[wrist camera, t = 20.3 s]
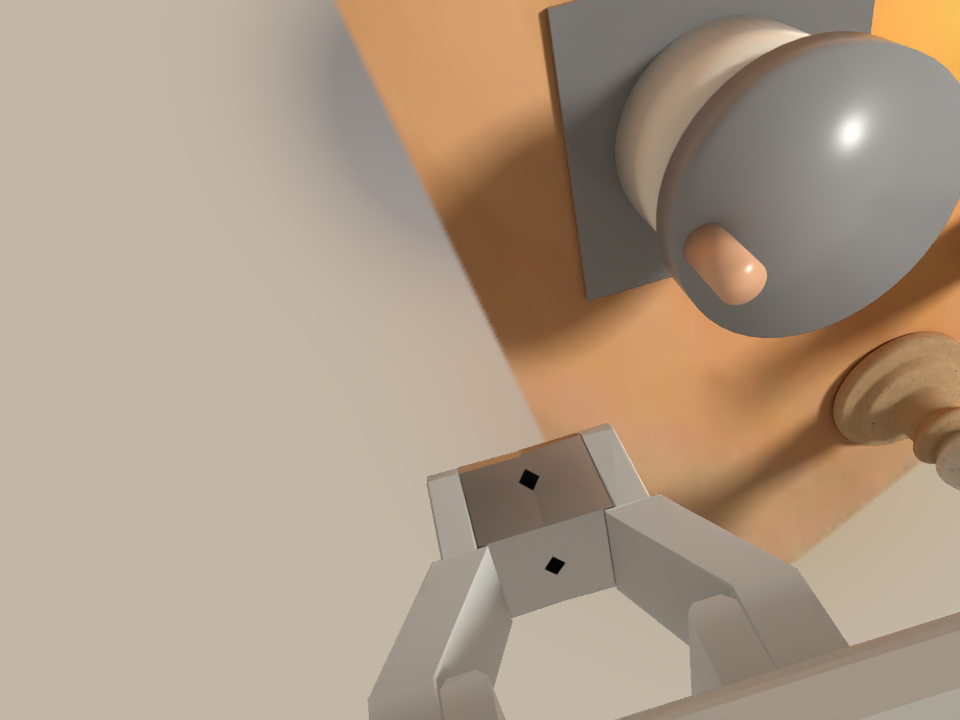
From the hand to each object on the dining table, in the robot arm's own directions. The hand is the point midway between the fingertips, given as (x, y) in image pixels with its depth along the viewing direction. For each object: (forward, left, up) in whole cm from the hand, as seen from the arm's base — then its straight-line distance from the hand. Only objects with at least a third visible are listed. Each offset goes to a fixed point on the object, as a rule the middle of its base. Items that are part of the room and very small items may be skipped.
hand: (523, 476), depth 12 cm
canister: (+12, +20, -35) cm, 42 cm away
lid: (+12, +20, -25) cm, 35 cm away
